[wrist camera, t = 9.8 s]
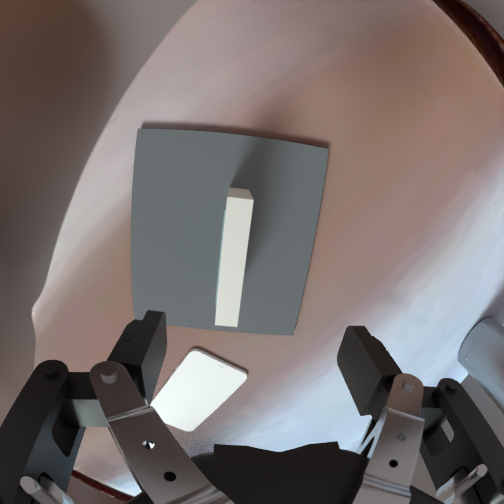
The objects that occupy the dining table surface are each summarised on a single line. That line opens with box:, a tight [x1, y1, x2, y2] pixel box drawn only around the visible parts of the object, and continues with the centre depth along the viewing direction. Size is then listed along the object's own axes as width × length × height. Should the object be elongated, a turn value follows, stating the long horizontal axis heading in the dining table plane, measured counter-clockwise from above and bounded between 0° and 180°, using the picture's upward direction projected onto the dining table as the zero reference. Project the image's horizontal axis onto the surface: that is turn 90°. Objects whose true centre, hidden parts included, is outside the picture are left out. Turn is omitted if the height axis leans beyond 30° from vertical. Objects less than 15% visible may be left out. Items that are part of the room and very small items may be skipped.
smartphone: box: [150, 348, 247, 431], centre depth 30 cm, size 7×1×15 cm
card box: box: [215, 187, 254, 327], centre depth 21 cm, size 2×9×6 cm, turn 173°
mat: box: [131, 129, 329, 335], centre depth 24 cm, size 16×18×1 cm
